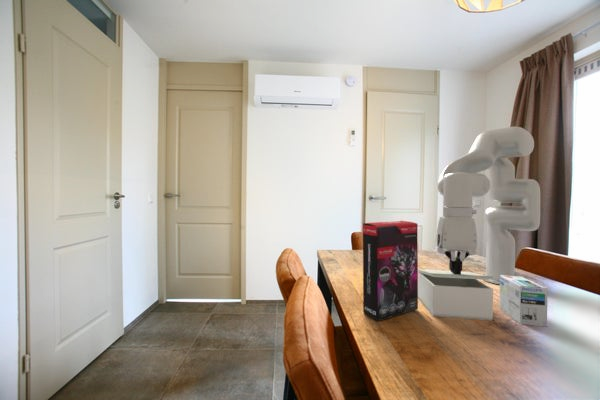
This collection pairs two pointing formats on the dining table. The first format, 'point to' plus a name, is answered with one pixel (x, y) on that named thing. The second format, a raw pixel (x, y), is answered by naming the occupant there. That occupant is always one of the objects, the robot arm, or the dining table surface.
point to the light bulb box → (523, 300)
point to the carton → (455, 297)
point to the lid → (451, 275)
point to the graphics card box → (390, 268)
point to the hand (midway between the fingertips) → (455, 272)
